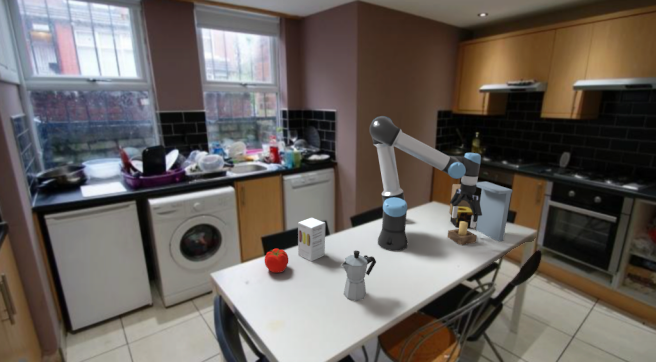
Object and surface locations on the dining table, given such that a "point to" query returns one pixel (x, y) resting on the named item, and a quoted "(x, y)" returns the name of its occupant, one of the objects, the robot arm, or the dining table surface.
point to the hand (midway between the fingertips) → (463, 222)
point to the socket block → (462, 237)
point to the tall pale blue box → (493, 210)
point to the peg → (463, 228)
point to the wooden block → (463, 202)
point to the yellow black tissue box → (462, 216)
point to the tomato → (276, 260)
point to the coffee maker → (356, 275)
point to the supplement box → (311, 239)
